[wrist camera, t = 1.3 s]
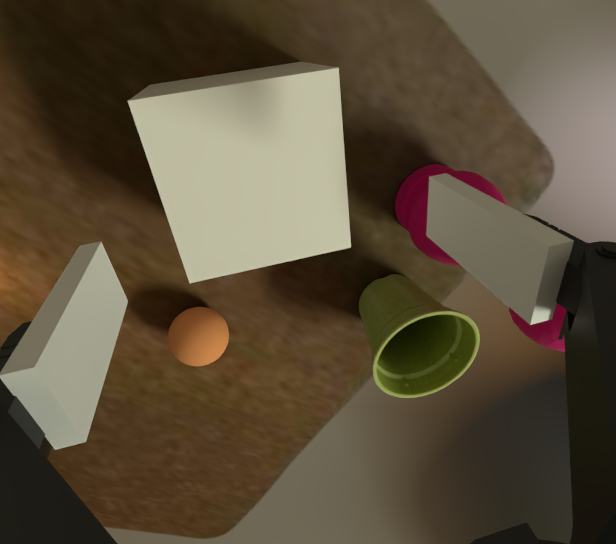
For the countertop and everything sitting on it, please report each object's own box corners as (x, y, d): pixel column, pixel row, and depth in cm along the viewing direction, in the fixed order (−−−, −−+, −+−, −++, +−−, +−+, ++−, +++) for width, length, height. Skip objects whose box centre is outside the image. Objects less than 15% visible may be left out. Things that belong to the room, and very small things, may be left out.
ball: (179, 345, 36) (176, 385, 32) (162, 303, 33) (156, 340, 29) (232, 332, 37) (236, 370, 32) (220, 290, 34) (222, 324, 30)
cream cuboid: (193, 225, 31) (189, 283, 23) (150, 84, 25) (127, 100, 18) (317, 200, 32) (351, 247, 25) (301, 61, 27) (338, 67, 19)
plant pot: (396, 344, 43) (436, 406, 35) (324, 323, 39) (352, 388, 31) (446, 276, 39) (501, 328, 32) (373, 245, 35) (417, 297, 28)
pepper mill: (472, 156, 33) (747, 270, 16) (454, 233, 37) (664, 391, 20) (394, 159, 32) (609, 287, 15) (383, 239, 35) (546, 414, 18)
